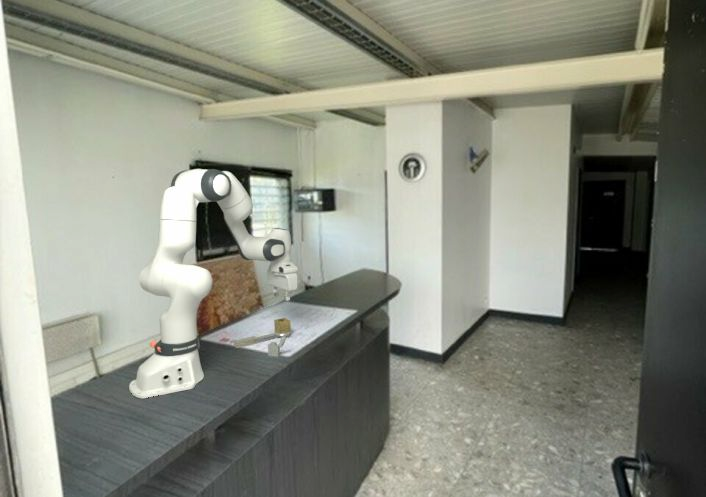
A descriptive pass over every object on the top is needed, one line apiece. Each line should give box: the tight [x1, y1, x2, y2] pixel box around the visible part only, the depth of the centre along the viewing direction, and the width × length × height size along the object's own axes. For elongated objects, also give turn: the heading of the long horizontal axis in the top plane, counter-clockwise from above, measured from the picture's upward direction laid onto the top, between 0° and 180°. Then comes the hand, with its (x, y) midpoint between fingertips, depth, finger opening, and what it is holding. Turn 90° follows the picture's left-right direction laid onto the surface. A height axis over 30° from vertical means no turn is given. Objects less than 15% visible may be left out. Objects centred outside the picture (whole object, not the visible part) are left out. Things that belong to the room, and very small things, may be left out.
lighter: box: [267, 336, 287, 358], centre depth 163 cm, size 7×2×8 cm, turn 74°
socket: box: [274, 317, 292, 334], centre depth 186 cm, size 5×5×5 cm
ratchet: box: [233, 330, 292, 349], centre depth 180 cm, size 25×7×6 cm, turn 129°
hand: (281, 298), depth 184 cm, fingers open, 8 cm apart
